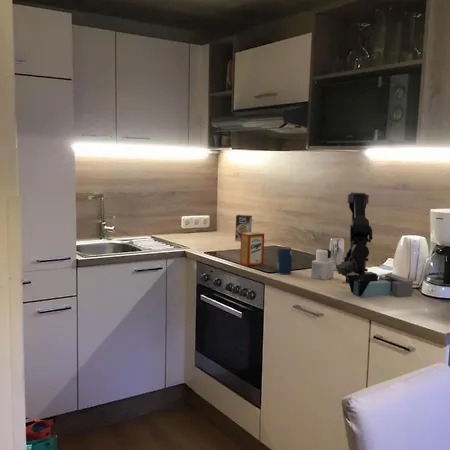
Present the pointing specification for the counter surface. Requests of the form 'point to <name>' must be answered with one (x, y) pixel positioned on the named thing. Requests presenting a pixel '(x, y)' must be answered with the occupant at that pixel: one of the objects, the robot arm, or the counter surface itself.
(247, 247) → the baking soda box
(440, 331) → the counter surface
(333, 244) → the beer glass
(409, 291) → the header
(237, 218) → the coffee box
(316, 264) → the container
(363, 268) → the robot arm
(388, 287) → the teal rectangular block
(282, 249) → the soda can
